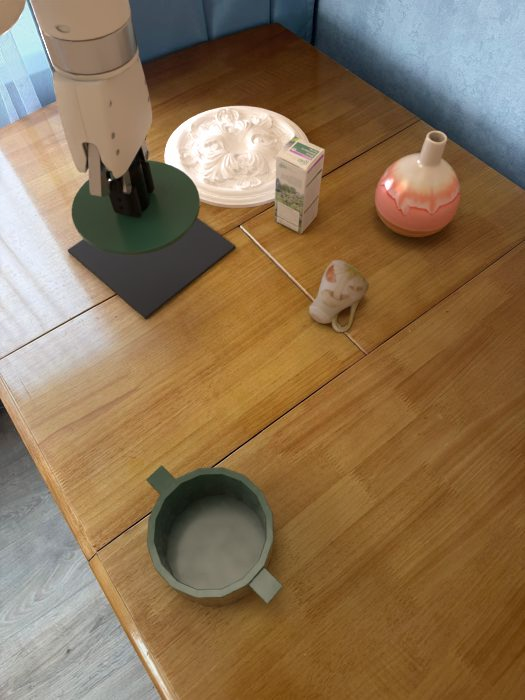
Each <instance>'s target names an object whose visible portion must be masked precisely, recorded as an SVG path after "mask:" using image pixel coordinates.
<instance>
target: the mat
mask: <svg viewBox="0 0 525 700" xmlns="http://www.w3.org/2000/svg"><path fill="white" fill-rule="evenodd" d="M236 248H237V247H236V245H235V244H234V243H232V242H231V241H230V240H228V239H227V238H226V237H224V236H223V235H222V234H220V233H219V232H217V231H216V230H215V229H213V228H212V227H211V226H209V225H208V224H206V223H205V222H204V221H202V220H201V219H199V218H198V217H197V219H196V221H195V223H194V225H193V226H192V228H191V229H190V230H189V231H188V232H187V233H186V234H185V235H184V236H183V237H182V238H181V239H179V240H178V241H176V242H175V243H173V244H172V245H170V246H168V247H166V248H163V249H161V250H158V251H155V252H151V253H147V254H141V255H118V254H112V253H108V252H104V251H102V250H99V249H97V248H95V247H93V246H92V245H90V244H89V243H88V242H86V241H85V240H84V239H83V238H82V239H81V240H79V241H78V242H77V243H75V244H74V245H72V246H71V247H69V248H68V249H67V253H69V254H70V255H71V256H72V257H74V258H75V260H77V261H78V262H79V263H80V264H81V265H82V266H83V267H85V268H86V269H87V270H88V271H89V272H91V273H92V274H93V275H94V276H95V277H96V278H97V279H99V281H101V282H102V283H103V284H104V285H105V286H107V287H108V289H110V290H111V291H112V292H114V293H115V294H116V295H117V296H118V297H119V298H121V299H122V300H123V301H124V302H125V303H126V304H128V306H129V307H131V308H132V309H133V310H135V312H136V313H138V314H139V315H140V316H141V317H143V318H144V319H145V320H147V319H148V318H150V317H151V316H152V315H154V314H155V313H156V312H157V311H159V310H160V309H161V308H162V307H164V306H165V305H166V304H167V303H169V302H170V301H171V300H172V299H174V298H175V297H176V296H178V294H180V293H181V292H183V290H185V289H186V288H187V287H189V286H190V285H191V284H192V283H194V282H195V281H196V280H198V278H199V277H201V276H202V275H204V274H205V273H206V272H207V271H209V270H210V269H212V267H214V266H215V265H216V264H217V263H219V262H220V261H221V260H222V259H224V258H225V257H227V256H228V255H229V254H230V253H231V252H233V251H234V250H235V249H236Z"/></svg>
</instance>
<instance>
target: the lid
mask: <svg viewBox="0 0 525 700" xmlns="http://www.w3.org/2000/svg"><path fill="white" fill-rule="evenodd" d="M145 162H149V166H150V170H151V175H152V179H153V183H154V191H153V192H152V193H148V191H147V187H146V183H145V178H144V174H143V170H142V166H141V162H140V159H139V158H138V157H137V156H135V158H134V159H133V161H132V163H131V165H130V166H129V168H128V170H129V175H130V180H131V186H133V187H136V190H137V194H138V198H139V202H140V206H141V209H142V215H141V217H133V216H128V215H122V214H117V213H115V212H114V209H113V206H112V203H111V200H110V197H109V195H107V196H105V197H99V196H94V195H91V194H90V189H89V178H88V179H87V180H86V181H84V182H83V184H82V185H81V186H80V187H79V189H78V190H77V192H76V194H75V196H74V198H73V201H72V205H71V220H72V223H73V225H74V227H75V229H76V231H77V233H78V234H79V236H80V237H81V238H82V240H83V239H84V240H85V241H86V242H88V243H89V244H90V245H92V246H93V247H95V248H97V249H99V250H102V251H104V252H108V253H112V254H118V255H141V254H147V253H151V252H155V251H158V250H161V249H163V248H166V247H168V246H170V245H172V244H173V243H175V242H176V241H178V240H179V239H181V238H182V237H183V236H184V235H185V234H186V233H187V232H188V231H189V230H190V229H191V228H192V226H193V225H194V223H195V221H196V219H197V218H198V217H199V214H200V211H201V202H200V198H199V193H198V190H197V187H196V185H195V184H194V182H193V181H192V180H191V178H190V177H189V176H188V175H186V174H185V173H184V172H183V171H181V170H179V169H178V168H176V167H174V166H171V165H169V164H166V163H165V162H161V161H157V160H147V161H145ZM112 174H113V173H111V172H110V176H111V179H113V180H118V181H120V177H119V178H117V179H116V178H114V176H113V175H112Z"/></svg>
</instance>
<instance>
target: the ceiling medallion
mask: <svg viewBox="0 0 525 700" xmlns="http://www.w3.org/2000/svg"><path fill="white" fill-rule="evenodd" d="M295 136H296V137H298V138H300V139H302V140H304V141H307V142H309V143H310V141H309V139H308V137H307V135H306V134H305V132H304V131H303V130H302V128H301V127H300V126H299V125H298V124H296V123H295V122H294V121H292V120H291V119H289V118H288V117H286V116H284V115H283V114H280V113H278V112H275V111H273V110H269V109H266V108H262V107H257V106H251V105H249V106H248V105H229V106H222V107H217V108H212V109H209V110H206V111H203V112H200V113H198V114H196V115H194V116H192V117H190V118H188V119H187V120H186V121H184V122H183V123H181V124H180V125H179V126H178V127H177V128H176V129H175V130H174V131H173V132H172V134H171V135H170V137H169V138H168V140H167V142H166V146H165V150H164V163H166V164H169V165H171V166H174V167H176V168H178V169H179V170H181V171H183V172H184V173H185V174H186V175H188V176H189V177H190V178H191V180H192V181H193V182H194V184H195V185H196V187H197V190H198V193H199V198H200V203H203V204H207V205H211V206H213V207H217V208H219V207H220V208H227V209H247V208H255V207H260V206H264V205H268V204H271V203H273V202H275V183H276V155H277V154H278V153H279V151H280V150H281V149H282V148H283V147H284V146H285V145H286V144H287V143H288V142H289V141H290V140H291V139H292V138H293V137H295Z"/></svg>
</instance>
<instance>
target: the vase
mask: <svg viewBox="0 0 525 700" xmlns="http://www.w3.org/2000/svg"><path fill="white" fill-rule="evenodd" d="M447 141H448V136H447V135H446V133H444V132H443V131H440V130H430V131H429V132H428V133H427V134H426V136H425V138H424V141H423V144H422V147H421V151H420V152H415V153H410V154H408V155H407V154H406V155H404V156H402V157H400V158H399V159H397V160H395V161H394V162H393V163H391V165H389V166H388V167H387V168H386V169H385V170H384V172H383V173H382V174H381V177H380V179H379V180H378V182H377V185H376V189H375V193H374V205H375V210H376V212H377V213H376V214H377V216H378V217H379V218H380V220H381V222H382V223H383V225H385V226H386V227H387V228H388V229H389V230H391V231H392V232H394V233H396V234H398V235H401V236H404V237H407V238H425V237H428V236H431V235H435V234H436V233H438V232H440V231H442V230H443V229H445V228H446V227H447V226H448V225H449V224H450V223H451V221H452V220H453V219H454V217H455V216H456V214H457V211H458V209H459V206H460V202H461V194H462V192H461V184H460V181H459V180H460V179H459V177H458V175H457V173H456V171H455V169H454V168H453V167H452V165H451V164H449V162H447V160H445V159H444V158H443V154H444V151H445V148H446V145H447Z"/></svg>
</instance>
